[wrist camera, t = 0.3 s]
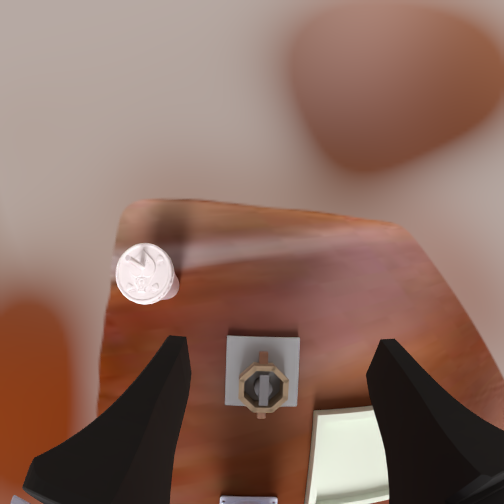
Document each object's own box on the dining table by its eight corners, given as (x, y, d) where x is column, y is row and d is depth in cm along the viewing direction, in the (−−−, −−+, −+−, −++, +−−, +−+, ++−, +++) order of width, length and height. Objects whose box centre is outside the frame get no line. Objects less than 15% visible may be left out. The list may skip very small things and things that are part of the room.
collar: (283, 415, 34) (286, 423, 31) (238, 414, 34) (237, 422, 31) (286, 351, 36) (290, 354, 33) (240, 350, 36) (239, 353, 33)
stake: (295, 404, 36) (302, 414, 31) (225, 402, 36) (222, 413, 31) (298, 337, 38) (306, 338, 33) (227, 335, 38) (225, 336, 33)
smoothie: (189, 261, 40) (162, 228, 27) (189, 309, 39) (160, 300, 25) (144, 261, 40) (100, 231, 26) (142, 309, 38) (94, 298, 25)
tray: (402, 487, 32) (408, 493, 30) (304, 504, 32) (307, 512, 29) (417, 398, 36) (425, 401, 33) (313, 410, 36) (317, 415, 33)
